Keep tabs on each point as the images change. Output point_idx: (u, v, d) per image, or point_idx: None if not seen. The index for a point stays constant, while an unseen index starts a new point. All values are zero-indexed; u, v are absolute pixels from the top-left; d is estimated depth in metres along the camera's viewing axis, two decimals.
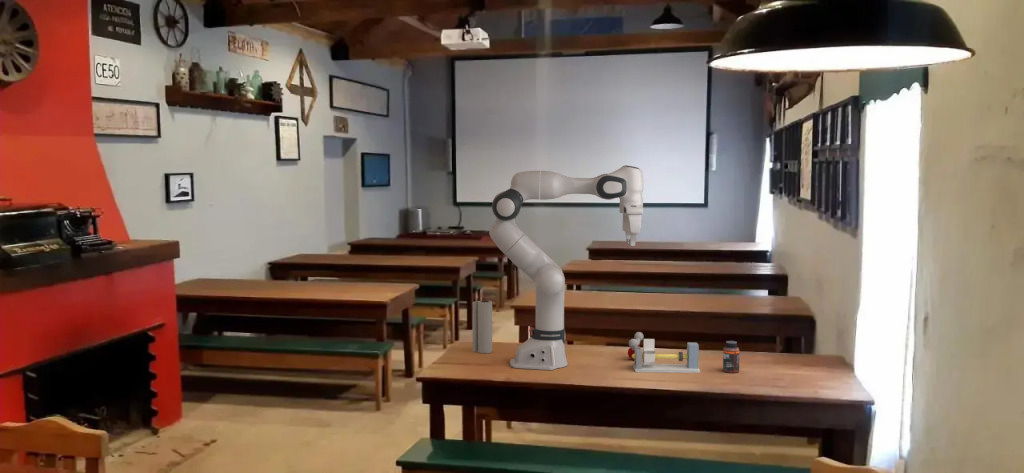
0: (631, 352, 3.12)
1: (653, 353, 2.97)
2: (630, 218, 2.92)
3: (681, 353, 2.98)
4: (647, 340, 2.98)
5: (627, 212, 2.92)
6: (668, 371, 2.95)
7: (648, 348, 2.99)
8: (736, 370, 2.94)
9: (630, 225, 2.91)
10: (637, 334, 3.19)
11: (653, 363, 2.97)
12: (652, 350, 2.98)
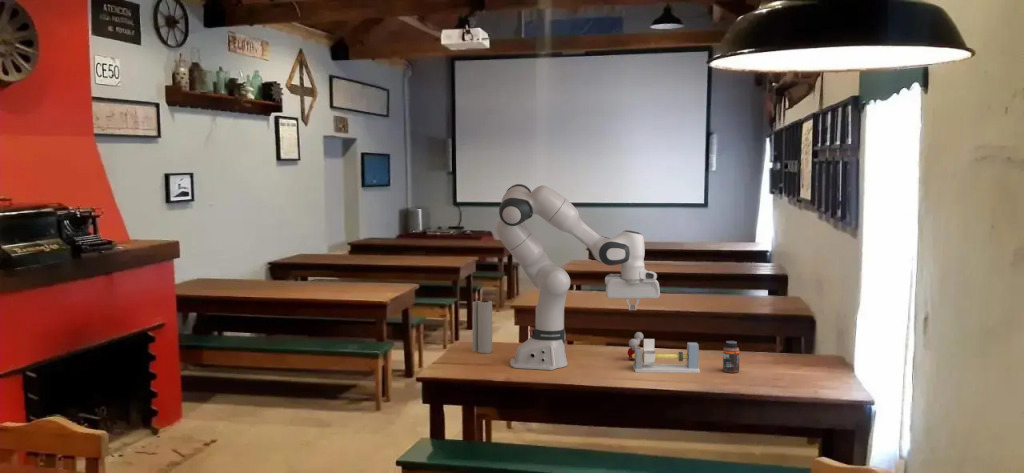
0: (631, 352, 3.12)
1: (653, 353, 2.97)
2: None
3: (681, 353, 2.98)
4: (647, 340, 2.98)
5: None
6: (668, 371, 2.95)
7: (648, 348, 2.99)
8: (736, 370, 2.94)
9: (659, 289, 2.95)
10: (637, 334, 3.19)
11: (653, 363, 2.97)
12: (652, 350, 2.98)
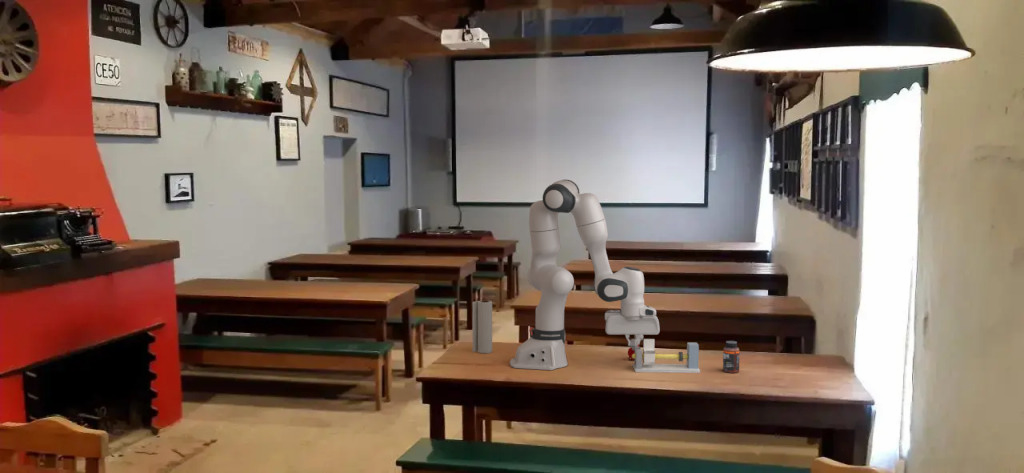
0: (631, 352, 3.12)
1: (653, 353, 2.97)
2: None
3: (681, 353, 2.98)
4: (647, 340, 2.98)
5: None
6: (668, 371, 2.95)
7: (648, 348, 2.99)
8: (736, 370, 2.94)
9: None
10: None
11: (653, 363, 2.97)
12: (652, 350, 2.98)
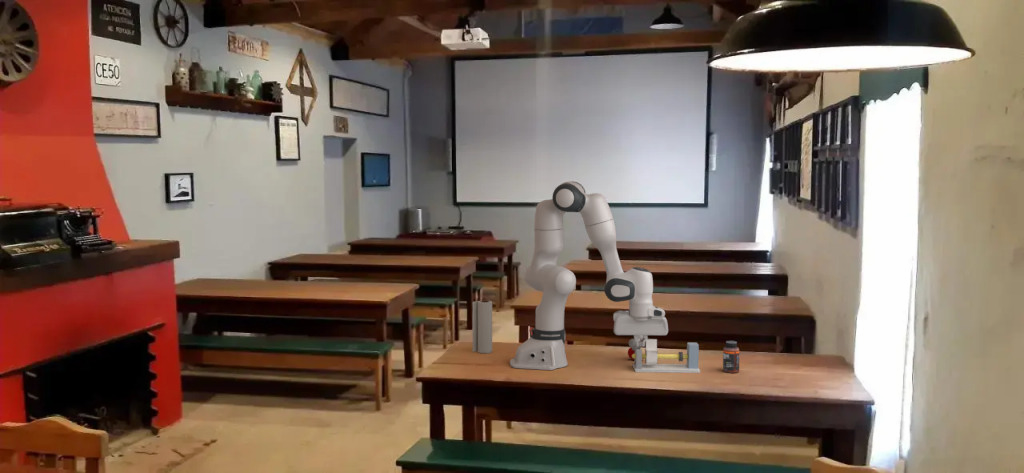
0: (631, 352, 3.12)
1: (655, 353, 2.97)
2: None
3: (681, 353, 2.98)
4: (649, 340, 2.98)
5: (664, 314, 2.95)
6: (668, 371, 2.95)
7: (650, 348, 2.99)
8: (736, 370, 2.94)
9: (667, 326, 2.96)
10: None
11: (655, 363, 2.97)
12: (654, 350, 2.98)
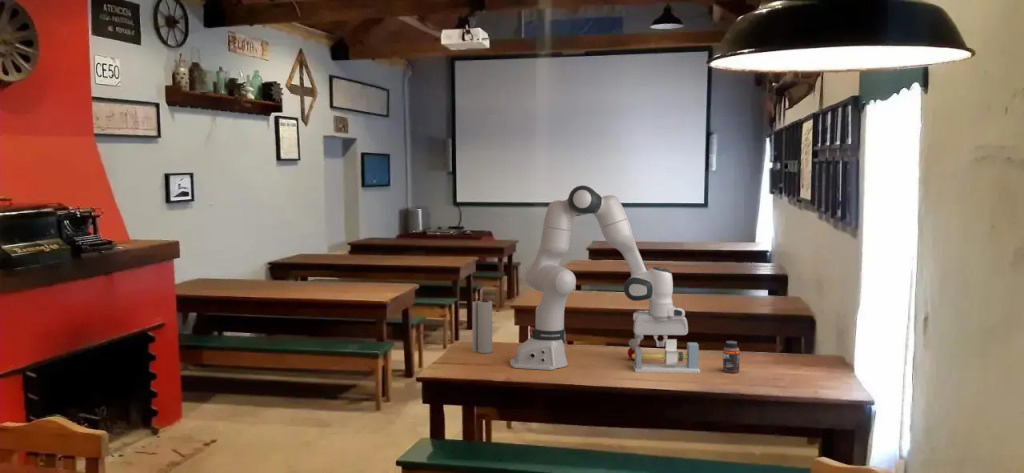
0: (631, 352, 3.12)
1: (675, 353, 2.96)
2: None
3: (681, 353, 2.98)
4: (669, 340, 2.98)
5: (684, 314, 2.95)
6: (668, 371, 2.95)
7: (670, 348, 2.98)
8: (736, 370, 2.94)
9: (687, 326, 2.96)
10: None
11: (675, 363, 2.97)
12: (674, 350, 2.97)
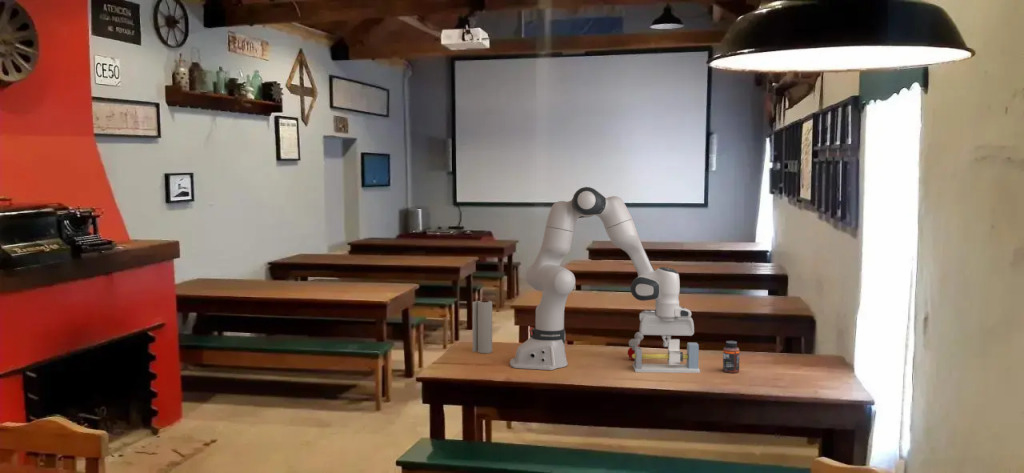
0: (631, 352, 3.12)
1: (678, 353, 2.96)
2: (692, 320, 2.96)
3: (681, 353, 2.98)
4: (672, 340, 2.98)
5: None
6: (668, 371, 2.95)
7: (673, 348, 2.98)
8: (736, 370, 2.94)
9: (693, 327, 2.96)
10: (637, 334, 3.19)
11: (678, 363, 2.97)
12: (677, 350, 2.97)
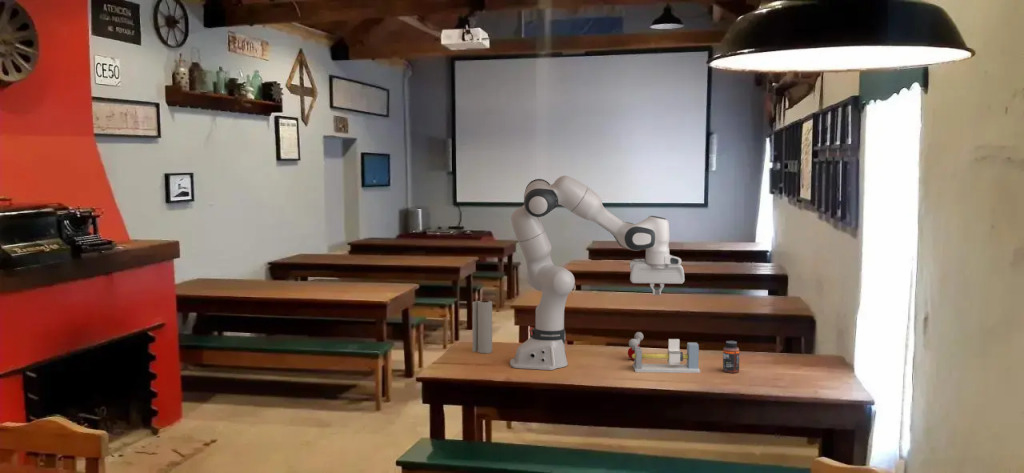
0: (631, 352, 3.12)
1: (678, 353, 2.96)
2: (682, 268, 2.97)
3: (681, 353, 2.98)
4: (672, 340, 2.98)
5: None
6: (668, 371, 2.95)
7: (673, 348, 2.98)
8: (736, 370, 2.94)
9: (683, 274, 2.97)
10: (637, 334, 3.19)
11: (678, 363, 2.97)
12: (677, 350, 2.97)
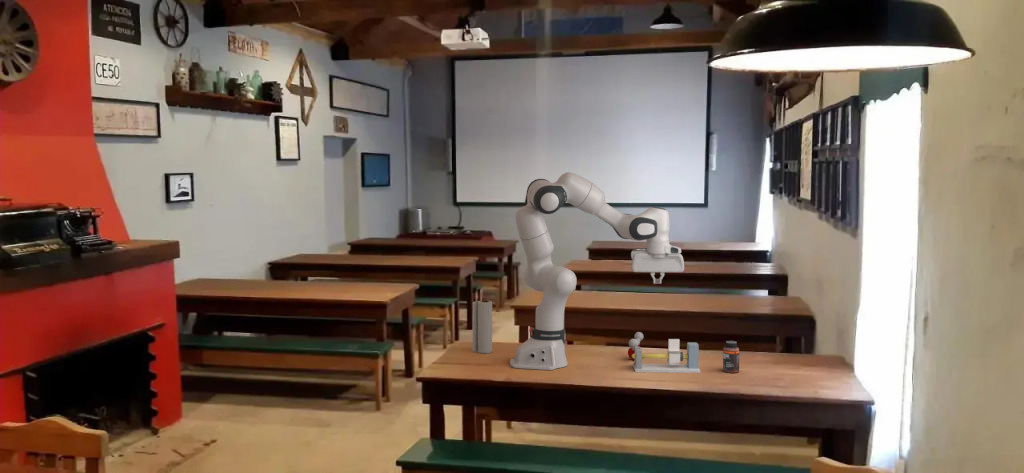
0: (631, 352, 3.12)
1: (678, 353, 2.96)
2: (682, 257, 3.06)
3: (681, 353, 2.98)
4: (672, 340, 2.98)
5: (680, 251, 3.05)
6: (668, 371, 2.95)
7: (673, 348, 2.98)
8: (736, 370, 2.94)
9: (683, 263, 3.06)
10: (637, 334, 3.19)
11: (678, 363, 2.97)
12: (677, 350, 2.97)
